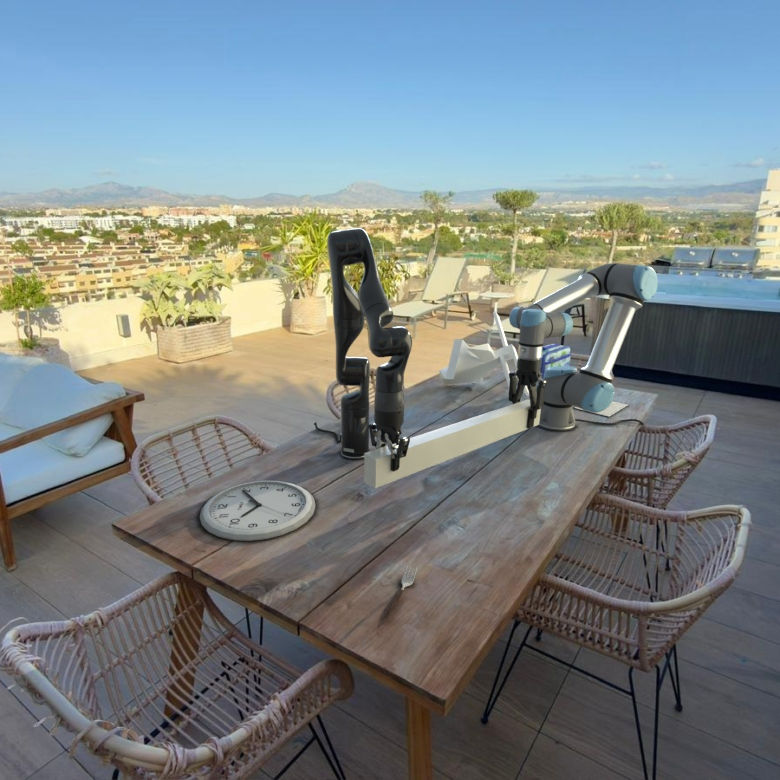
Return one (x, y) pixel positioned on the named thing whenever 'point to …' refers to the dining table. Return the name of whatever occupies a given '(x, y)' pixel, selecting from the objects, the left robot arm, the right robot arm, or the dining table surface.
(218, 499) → the wall clock
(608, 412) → the invitation card
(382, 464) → the post
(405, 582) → the fork
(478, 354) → the white plastic object
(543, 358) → the lunch box
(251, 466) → the dining table surface
